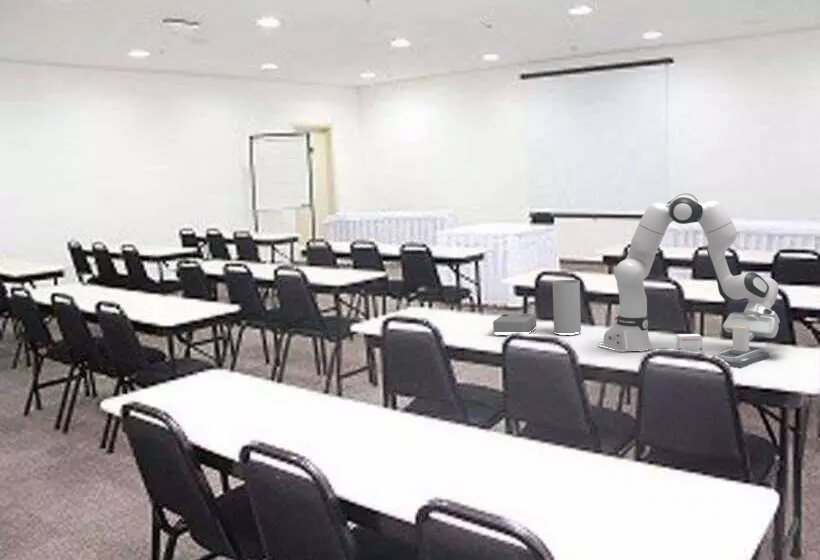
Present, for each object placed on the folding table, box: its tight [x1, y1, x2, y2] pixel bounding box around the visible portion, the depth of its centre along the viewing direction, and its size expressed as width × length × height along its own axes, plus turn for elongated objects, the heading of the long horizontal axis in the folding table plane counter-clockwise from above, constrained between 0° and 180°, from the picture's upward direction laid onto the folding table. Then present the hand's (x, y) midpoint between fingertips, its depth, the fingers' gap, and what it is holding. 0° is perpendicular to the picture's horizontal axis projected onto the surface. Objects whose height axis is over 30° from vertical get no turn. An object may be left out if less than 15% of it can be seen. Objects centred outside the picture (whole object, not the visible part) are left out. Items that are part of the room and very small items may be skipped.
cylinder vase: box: [552, 279, 582, 333], centre depth 351 cm, size 12×12×25 cm
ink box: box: [675, 333, 703, 354], centre depth 284 cm, size 9×5×12 cm, turn 84°
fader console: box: [713, 345, 770, 369], centre depth 287 cm, size 13×22×3 cm, turn 128°
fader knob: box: [730, 325, 751, 355], centre depth 287 cm, size 6×4×11 cm, turn 38°
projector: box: [492, 312, 537, 333], centre depth 361 cm, size 17×22×8 cm
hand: (743, 342), depth 289 cm, fingers closed, pressing on fader knob
